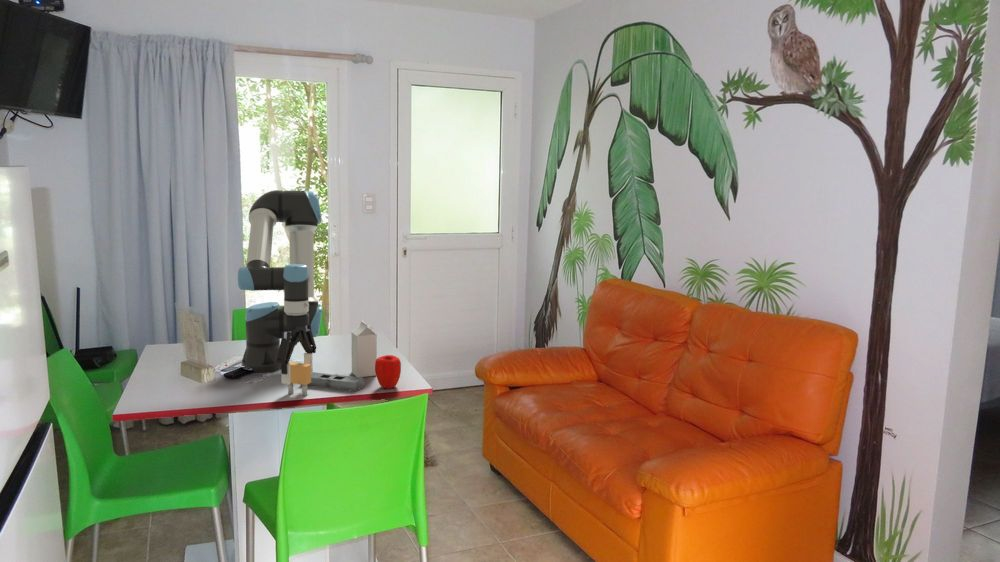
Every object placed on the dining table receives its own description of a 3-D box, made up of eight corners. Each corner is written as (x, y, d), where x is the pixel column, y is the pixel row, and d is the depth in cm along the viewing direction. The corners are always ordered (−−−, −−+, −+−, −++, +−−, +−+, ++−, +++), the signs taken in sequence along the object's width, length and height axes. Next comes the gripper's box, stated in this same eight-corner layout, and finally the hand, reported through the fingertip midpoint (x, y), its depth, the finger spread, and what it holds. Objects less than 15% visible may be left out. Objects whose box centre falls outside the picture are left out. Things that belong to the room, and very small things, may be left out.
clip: (284, 394, 229) (283, 364, 228) (289, 391, 232) (288, 361, 231) (306, 396, 227) (306, 366, 226) (311, 394, 230) (310, 364, 229)
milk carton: (357, 378, 249) (357, 325, 247) (351, 372, 256) (351, 321, 253) (376, 375, 253) (376, 323, 250) (370, 370, 259) (370, 319, 256)
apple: (377, 382, 245) (377, 352, 243) (402, 383, 244) (403, 353, 243) (372, 390, 236) (372, 358, 234) (398, 391, 236) (398, 359, 234)
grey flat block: (301, 385, 239) (301, 376, 239) (310, 380, 245) (310, 371, 245) (355, 391, 235) (355, 382, 234) (363, 386, 240) (363, 377, 240)
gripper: (285, 321, 213) (286, 389, 216) (326, 307, 237) (326, 369, 240) (263, 319, 215) (265, 387, 218) (306, 305, 239) (306, 367, 242)
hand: (297, 378), depth 229 cm, fingers open, 13 cm apart
